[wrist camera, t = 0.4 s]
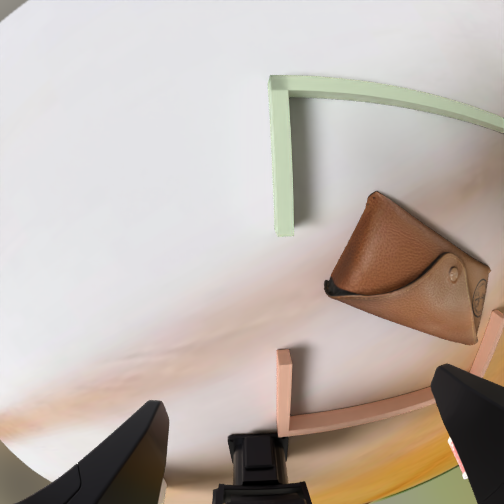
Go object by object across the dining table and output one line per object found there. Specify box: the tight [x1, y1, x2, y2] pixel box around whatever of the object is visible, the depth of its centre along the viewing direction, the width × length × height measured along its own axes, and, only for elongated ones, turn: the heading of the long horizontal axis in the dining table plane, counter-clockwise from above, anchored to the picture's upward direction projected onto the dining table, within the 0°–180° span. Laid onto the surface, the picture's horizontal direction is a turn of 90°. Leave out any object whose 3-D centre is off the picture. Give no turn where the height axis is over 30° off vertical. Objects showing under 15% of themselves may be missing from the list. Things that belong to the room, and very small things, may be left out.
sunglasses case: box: [324, 191, 491, 345], centre depth 20 cm, size 18×7×7 cm
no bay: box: [277, 310, 504, 437], centre depth 23 cm, size 10×26×2 cm, turn 93°
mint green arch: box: [268, 75, 504, 237], centre depth 17 cm, size 10×26×2 cm, turn 93°
